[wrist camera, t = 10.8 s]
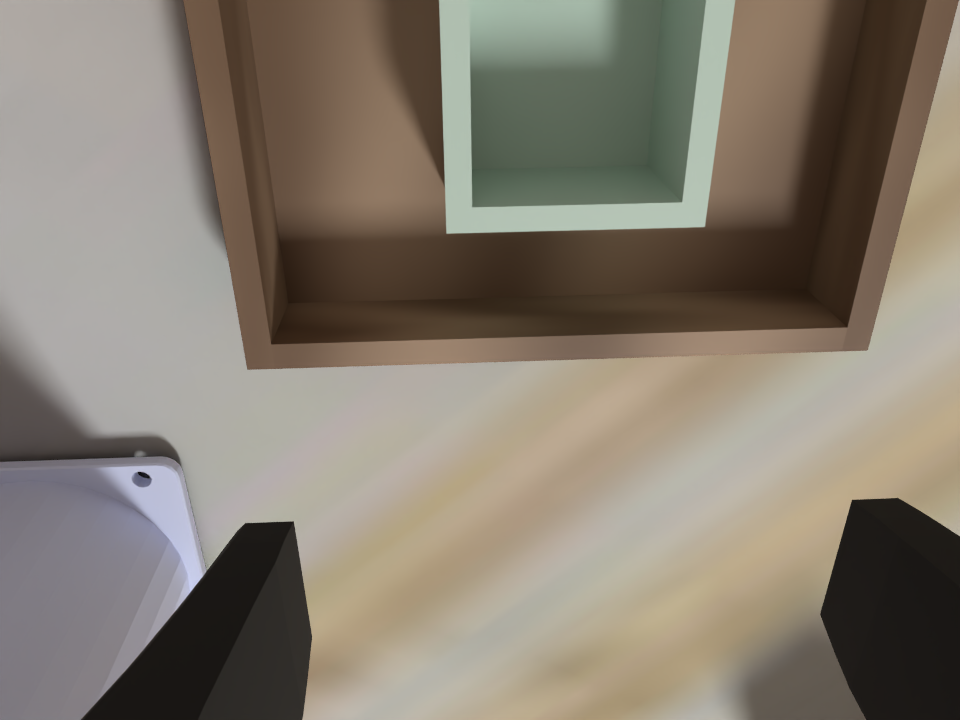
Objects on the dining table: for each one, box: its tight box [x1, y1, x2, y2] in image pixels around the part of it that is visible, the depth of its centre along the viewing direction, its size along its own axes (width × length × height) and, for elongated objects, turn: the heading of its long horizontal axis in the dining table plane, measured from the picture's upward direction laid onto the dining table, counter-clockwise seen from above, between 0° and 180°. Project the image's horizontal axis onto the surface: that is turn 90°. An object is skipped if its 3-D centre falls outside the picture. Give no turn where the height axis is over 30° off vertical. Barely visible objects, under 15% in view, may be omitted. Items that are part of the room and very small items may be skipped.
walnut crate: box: [183, 0, 959, 370], centre depth 15 cm, size 14×14×3 cm
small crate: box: [439, 0, 735, 234], centre depth 15 cm, size 5×7×3 cm
